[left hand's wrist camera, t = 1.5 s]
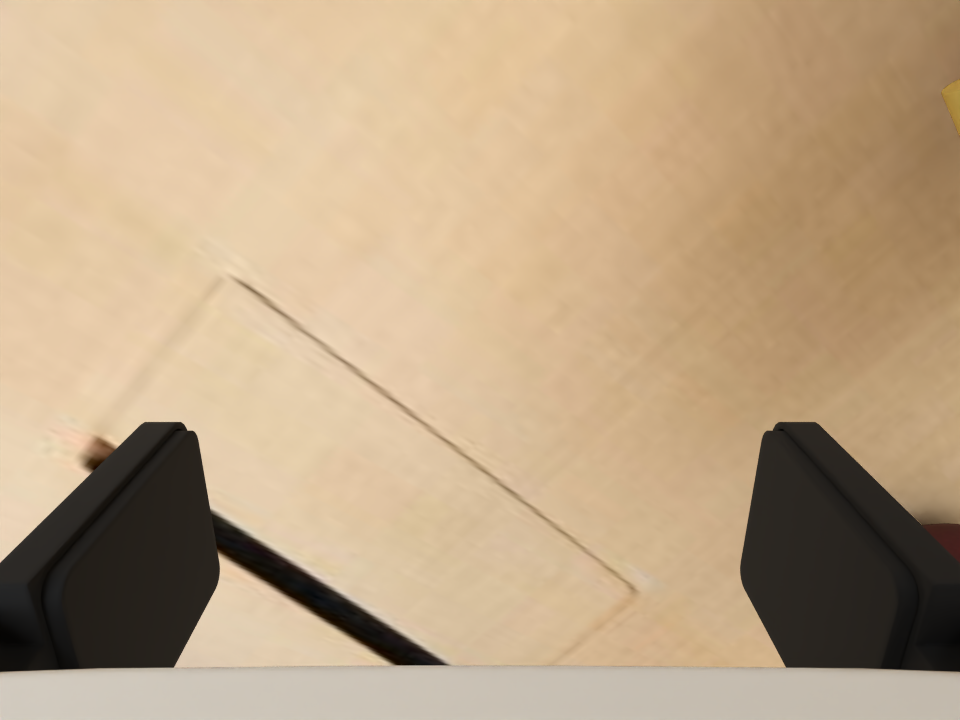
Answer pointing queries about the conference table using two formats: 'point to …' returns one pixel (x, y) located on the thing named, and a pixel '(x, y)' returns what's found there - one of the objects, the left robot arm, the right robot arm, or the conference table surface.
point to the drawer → (953, 102)
